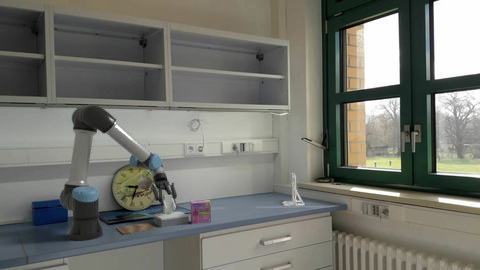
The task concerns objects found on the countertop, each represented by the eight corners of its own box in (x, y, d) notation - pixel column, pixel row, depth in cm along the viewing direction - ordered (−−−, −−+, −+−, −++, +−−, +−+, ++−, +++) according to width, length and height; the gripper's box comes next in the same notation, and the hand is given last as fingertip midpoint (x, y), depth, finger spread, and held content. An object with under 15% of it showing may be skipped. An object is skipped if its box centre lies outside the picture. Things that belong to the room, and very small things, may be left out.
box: (192, 225, 201) (191, 202, 201) (190, 222, 207) (190, 201, 207) (211, 223, 204) (211, 201, 204) (209, 221, 209) (209, 199, 209)
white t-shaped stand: (161, 220, 196) (161, 199, 196) (154, 216, 206) (154, 196, 206) (187, 216, 204) (187, 196, 204) (179, 212, 214) (179, 193, 213)
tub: (161, 228, 196) (161, 220, 196) (153, 223, 206) (153, 216, 206) (188, 223, 204) (188, 216, 204) (180, 219, 214) (179, 212, 214)
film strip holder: (281, 202, 261) (281, 173, 261) (301, 201, 261) (301, 172, 261) (284, 206, 247) (283, 175, 247) (305, 205, 247) (304, 175, 247)
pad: (123, 234, 184) (123, 233, 184) (116, 228, 196) (116, 227, 196) (156, 229, 193) (156, 228, 193) (148, 223, 205) (148, 222, 205)
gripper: (172, 179, 226) (183, 211, 212) (143, 181, 217) (153, 215, 203) (175, 170, 222) (187, 203, 208) (145, 173, 213) (156, 207, 199)
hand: (170, 209), depth 205 cm, fingers closed on white t-shaped stand, 4 cm apart
